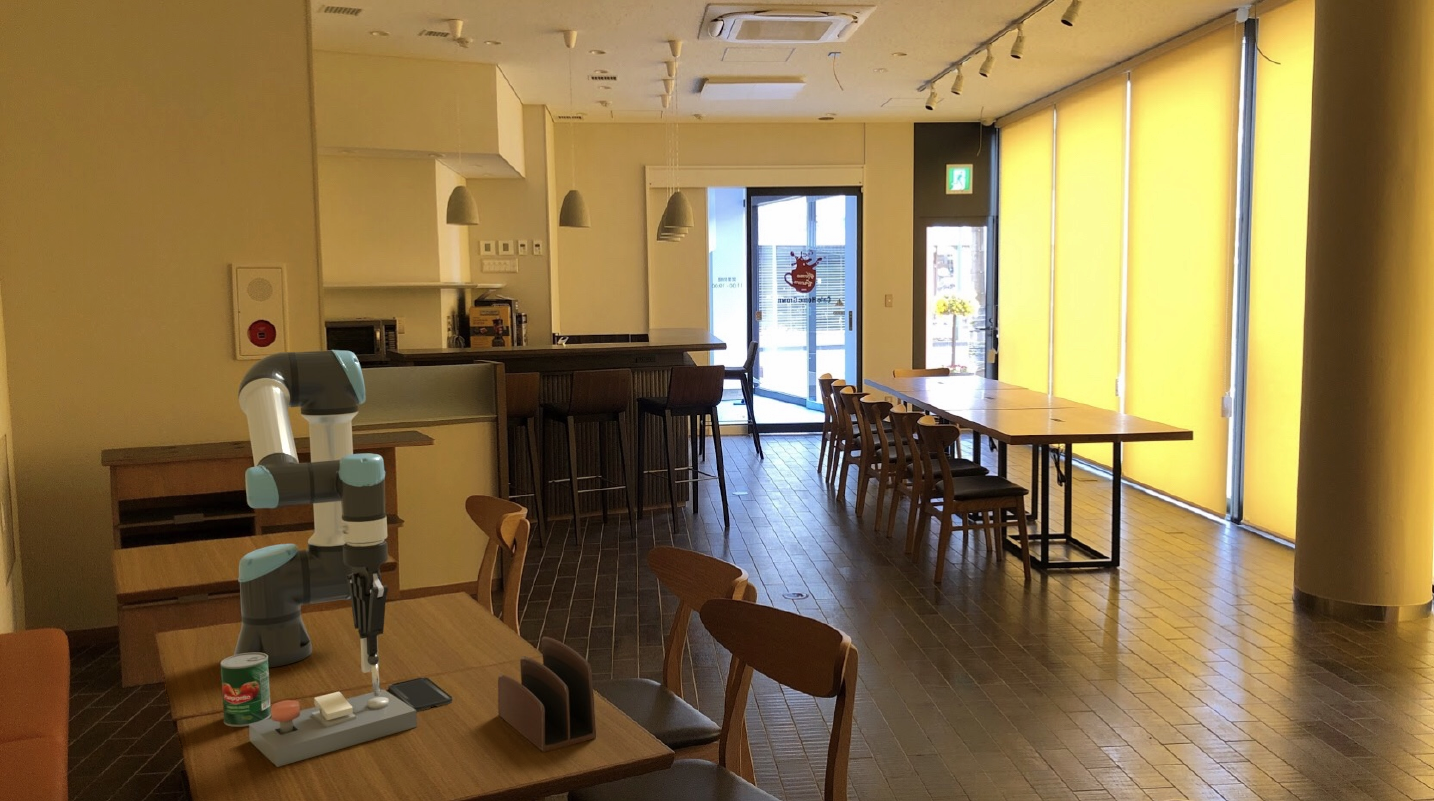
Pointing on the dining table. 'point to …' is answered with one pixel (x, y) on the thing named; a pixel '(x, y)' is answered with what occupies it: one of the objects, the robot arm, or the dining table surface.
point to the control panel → (333, 728)
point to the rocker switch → (333, 705)
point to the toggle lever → (374, 673)
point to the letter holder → (550, 698)
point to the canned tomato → (245, 689)
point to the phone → (420, 693)
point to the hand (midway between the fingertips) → (370, 670)
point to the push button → (285, 714)
